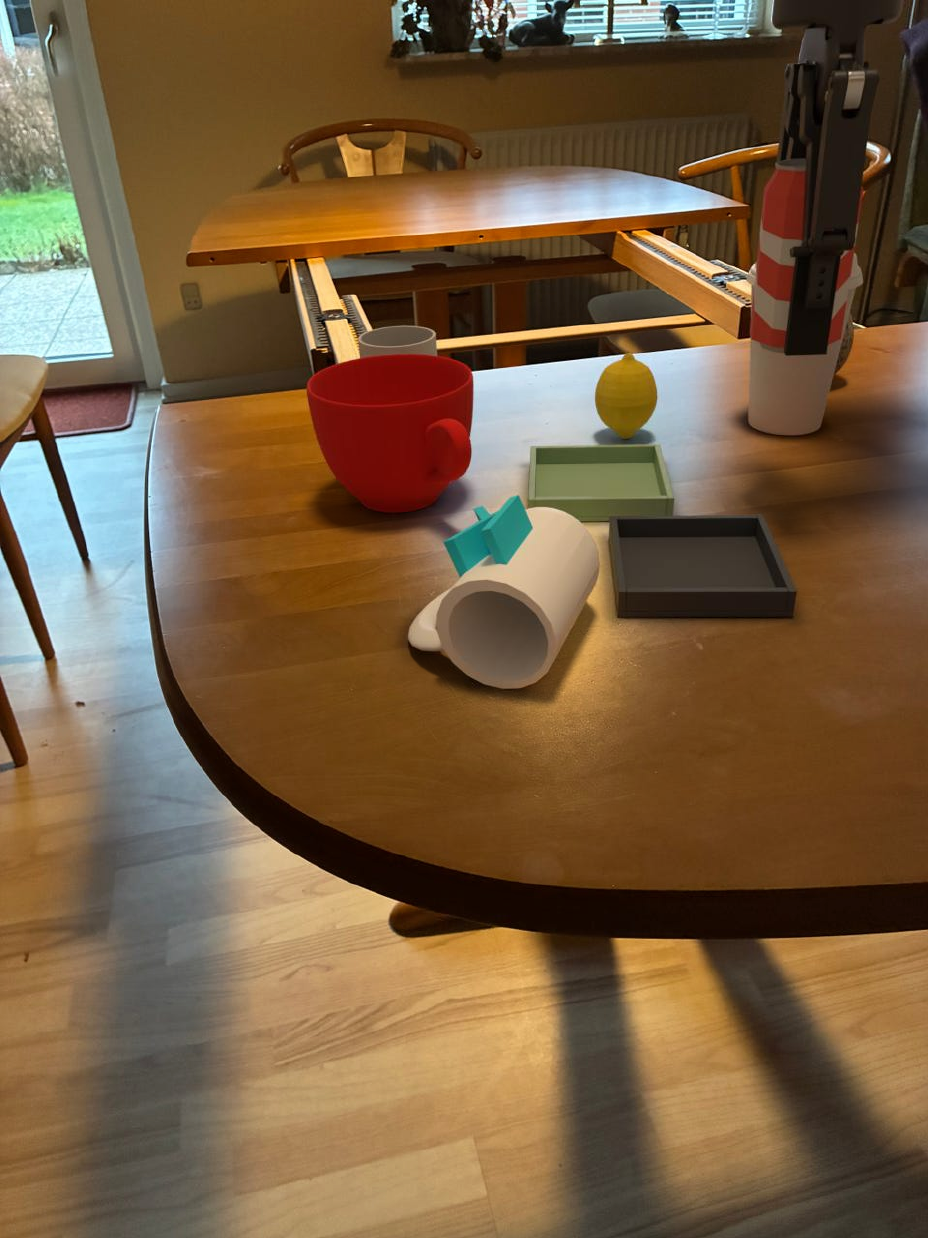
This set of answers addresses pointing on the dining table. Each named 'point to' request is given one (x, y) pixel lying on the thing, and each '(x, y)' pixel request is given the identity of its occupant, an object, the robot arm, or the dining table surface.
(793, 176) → the beverage can
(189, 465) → the dining table surface
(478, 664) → the mug
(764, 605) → the charcoal tray
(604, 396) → the fruit
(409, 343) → the cup
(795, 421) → the coffee cup
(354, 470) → the ceramic cup
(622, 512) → the green tray
